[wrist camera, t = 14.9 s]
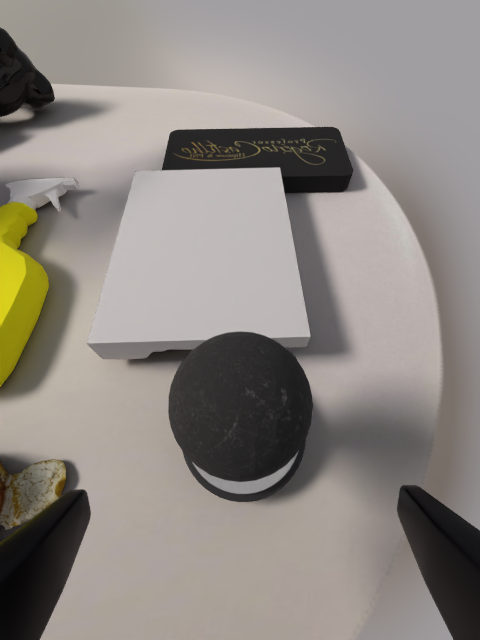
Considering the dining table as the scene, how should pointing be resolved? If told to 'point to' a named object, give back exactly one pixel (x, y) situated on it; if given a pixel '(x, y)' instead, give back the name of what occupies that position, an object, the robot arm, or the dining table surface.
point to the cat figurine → (20, 80)
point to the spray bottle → (22, 265)
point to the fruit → (29, 491)
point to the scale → (249, 488)
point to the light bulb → (240, 406)
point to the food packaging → (200, 264)
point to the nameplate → (267, 154)
